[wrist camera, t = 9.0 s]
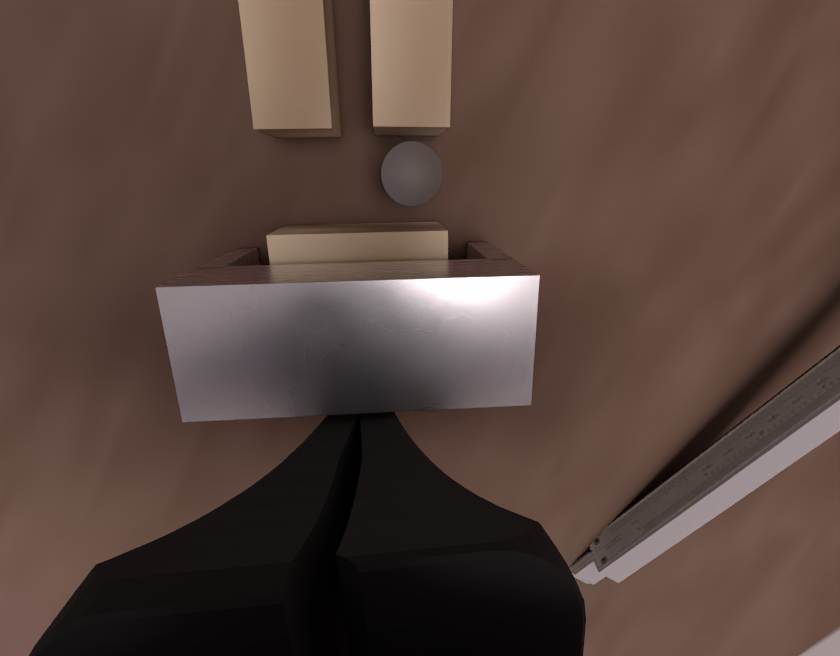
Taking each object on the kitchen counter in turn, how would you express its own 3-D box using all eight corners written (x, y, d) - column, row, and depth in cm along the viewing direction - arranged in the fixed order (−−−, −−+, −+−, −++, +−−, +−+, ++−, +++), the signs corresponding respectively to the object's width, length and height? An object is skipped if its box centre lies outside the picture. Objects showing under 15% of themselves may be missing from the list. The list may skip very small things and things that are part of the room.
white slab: (249, 341, 14) (182, 422, 9) (236, 248, 13) (155, 287, 8) (484, 332, 14) (530, 405, 10) (487, 241, 13) (539, 275, 9)
